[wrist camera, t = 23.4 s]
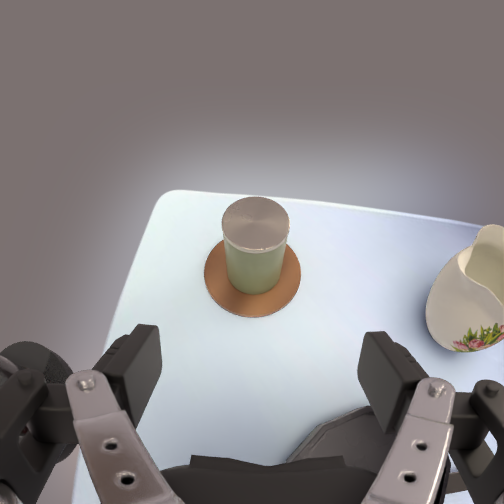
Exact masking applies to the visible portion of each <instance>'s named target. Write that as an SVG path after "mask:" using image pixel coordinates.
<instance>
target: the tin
mask: <svg viewBox="0 0 504 504" xmlns="http://www.w3.org/2000/svg"><path fill="white" fill-rule="evenodd" d="M289 228H290V220H289V217H288V214H287V213H286V211H285V210H284V208H283V207H282V206H281V205H279V204H278V203H276V202H275V201H273V200H270V199H267V198H264V197H247V198H243V199H240V200H238V201H236V202H234V203H233V204H231V205H230V206H229V207H228V208H227V210H226V211H225V213H224V215H223V218H222V231H223V237H224V246H225V256H226V265H227V274H228V278H229V280H230V282H231V284H232V285H233V286H234V287H235V288H236V289H237V290H239V291H241V292H243V293H246V294H251V295H257V294H262V293H265V292H267V291H269V290H271V289H272V288H273V287H274V286H275V285H276V284H277V282H278V280H279V278H280V273H281V268H282V263H283V258H284V252H285V247H286V242H287V236H288V233H289Z"/></svg>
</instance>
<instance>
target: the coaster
mask: <svg viewBox="0 0 504 504" xmlns="http://www.w3.org/2000/svg"><path fill="white" fill-rule="evenodd" d="M204 278H205V283H206V286H207V289H208V291H209V293H210V295H211V297H212V298H213V299H214V301H215V302H216V303H217V304H218V305H220V306H221V307H222V308H223V309H225V310H227V311H229V312H231V313H233V314H236V315H239V316H244V317H262V316H266V315H270V314H273V313H275V312H277V311H279V310H281V309H282V308H283V307H285V306H286V305H287V304H288V303H289V302H290V301H291V300H292V298H293V297H294V296H295V294H296V292H297V290H298V287H299V284H300V279H301V269H300V264H299V261H298V258H297V257H296V255H295V253H294V252H293V250H292V249H291V248H290V247H289V246H288V245H287V244H286V247H285V252H284V258H283V263H282V268H281V273H280V278H279V280H278V282H277V284H276V285H275V286H274V287H273V288H272V289H271V290H269V291H267V292H265V293H262V294H257V295H251V294H246V293H243V292H241V291H239V290H237V289H236V288H235V287H234V286H233V285H232V284H231V282H230V280H229V278H228V274H227V265H226V256H225V246H224V240H222V241H221V242H219V243H218V244H217V245H216V246H215V247H214V248H213V250H212V251H211V252H210V254H209V256H208V258H207V260H206V264H205V269H204Z"/></svg>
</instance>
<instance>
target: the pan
mask: <svg viewBox="0 0 504 504" xmlns="http://www.w3.org/2000/svg"><path fill="white" fill-rule="evenodd" d="M396 436H397V433H392V434H386V435H384V433H383V431H382V428H381V426H380V424H379V422H378V420H377V418H376V416H375V413H374V411H373V409H372V407H371V406H365V407H361V408H357V409H355V410H353V411H351V412H348V413H346V414H344V415H342V416H339V417H337V418H335V419H332V420H330V421H328V422H325V423H323V424H320V425H318V426H316V427H315V429H314V430H313V431H312V432H311V433H310V434H309V436H308V437H307V438H306V439H305V440H304V441H303V442H302V443H301V445H300V446H299V447H298V448H297V449H296V450H295V451H294V452H293V453H292V454H291V455H290V457H289V458H288V459H287V460H286V463H289V462H293V461H298V460H302V459H306V458H319V457H331V456H341V455H343V458H344V462H345V465H348V466H355V467H360V468H364V469H367V470H370V471H373V472H375V473H377V474H378V473H379V471H380V469H381V467H382V465H383V463H384V461H385V459H386V457H387V455H388V453H389V451H390V449H391V447H392V445H393V443H394V441H395V439H396ZM450 468H451V462H450V459H449V456H448V455H447V459H446V463H445V467H444V471H443V474H442V478H441V481H440V484H439V488H438V491H437V494H436V497H435V500H434V503H433V504H443V503H444V498H445V494H450V493H455V492H460V491H465V490H468V489H467V487H466V485H465V483H464V481H463V479H462V477H461V475H460V473H459V472H452V473H450Z"/></svg>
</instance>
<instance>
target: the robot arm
mask: <svg viewBox="0 0 504 504" xmlns="http://www.w3.org/2000/svg"><path fill="white" fill-rule="evenodd" d="M161 370H162V356H161V346H160V336H159V329H158V327H157V326H155V325H145V324H138V325H137V326H136V327H135V329H134V330H133V331H132V332H131V334H130V335H123V336H122V337H120V338H118V339H116V340H115V341H114V342H113V344H112V345H111V346H110V348H109V349H108V350H107V351H106V352H105V354H104V355H103V356H102V357H101V358H100V360H99V361H98V362H97V363H96V365H95V366H94V367H93V368H92V370H83V371H78V372H76V373H74V374H72V375H70V376H69V377H68V379H67V380H66V383H65V384H60V383H46V380H45V377H44V375H43V373H42V372H41V371H39V370H36V369H29V368H27V367H24V366H21V365H19V364H16V363H14V362H13V361H11V360H8V359H6V358H4V357H3V356H1V355H0V504H36V502H37V500H38V498H39V496H40V494H41V492H42V490H43V488H44V486H45V484H46V482H47V480H48V478H49V476H50V474H51V472H52V470H53V468H54V466H55V464H56V462H57V460H58V458H59V457H60V455H61V453H62V451H63V449H64V447H65V445H66V444H79V445H80V448H81V451H82V454H83V457H84V460H85V463H86V466H87V469H88V471H89V474H90V477H91V479H92V482H93V484H94V487H95V490H96V492H97V494H98V497H99V499H100V502H101V504H433V503H434V500H435V497H436V494H437V491H438V488H439V484H440V481H441V478H442V474H443V471H444V467H445V463H446V459H447V455H448V452H449V454H450V456H451V458H452V460H453V462H454V464H455V466H456V468H457V469H458V471H459V473H460V475H461V477H462V479H463V481H464V483H465V485H466V487H467V489H468V492H469V494H470V496H471V498H472V500H473V502H474V504H504V386H503V385H501V384H500V383H498V382H496V381H492V380H480V381H478V382H477V383H476V384H475V386H474V389H473V391H472V393H466V392H455V389H454V387H453V386H452V385H451V384H450V383H449V382H447V381H446V380H443V379H440V378H434V377H429V376H428V375H427V373H426V372H425V371H424V370H423V368H422V367H421V366H420V365H419V363H418V362H416V360H415V359H414V357H413V356H412V355H411V354H410V353H409V351H408V350H407V349H406V348H405V347H403V346H401V345H400V344H398V343H396V342H395V343H394V342H393V341H392V339H391V338H390V337H389V336H388V334H387V333H386V332H385V331H380V332H366V334H365V336H364V339H363V344H362V349H361V354H360V359H359V363H358V370H357V373H358V380H359V382H360V384H361V386H362V388H363V390H364V392H365V394H366V397H367V399H368V401H369V403H370V405H371V407H372V409H373V411H374V413H375V416H376V418H377V420H378V422H379V424H380V426H381V428H382V431H383V433H384V435H386V434H392V433H397V436H396V439H395V441H394V443H393V445H392V447H391V449H390V451H389V453H388V455H387V457H386V459H385V461H384V463H383V465H382V467H381V469H380V471H379V473H378V474H377V473H375V472H373V471H370V470H367V469H364V468H360V467H355V466H348V465H345V462H344V458H343V455H341V456H331V457H319V458H306V459H302V460H298V461H293V462H289V463H284V464H280V465H275V466H263V465H258V464H253V463H248V462H244V461H239V460H235V459H231V458H221V457H208V456H198V455H191V460H190V464H189V465H182V466H176V467H172V468H168V469H165V470H162V471H159V469H158V467H157V466H156V464H155V463H154V461H153V459H152V458H151V456H150V454H149V453H148V451H147V449H146V448H145V446H144V444H143V442H142V441H141V439H140V437H139V435H138V434H137V432H136V428H137V426H138V423H139V421H140V419H141V417H142V414H143V412H144V410H145V408H146V406H147V403H148V401H149V399H150V397H151V395H152V392H153V390H154V388H155V386H156V384H157V381H158V379H159V377H160V375H161ZM489 431H490V432H491V433H492V435H493V436H494V438H495V439H496V441H497V452H496V454H495V456H494V454H493V453H492V451H491V450H490V448H489V447H488V445H487V443H486V442H485V440H484V439H485V437H486V435H487V434H488V432H489ZM19 437H23V439H22V440H21V442H20V443H19Z"/></svg>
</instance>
